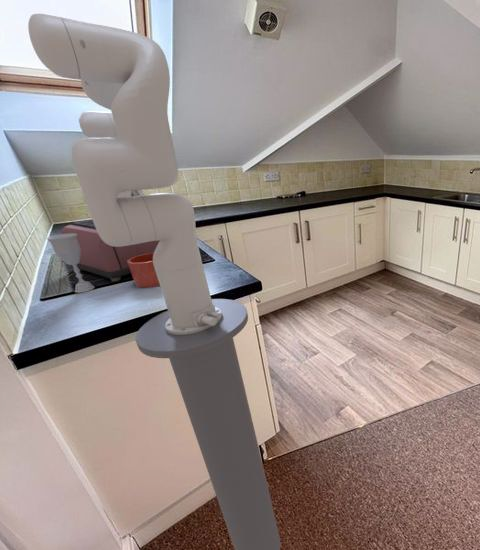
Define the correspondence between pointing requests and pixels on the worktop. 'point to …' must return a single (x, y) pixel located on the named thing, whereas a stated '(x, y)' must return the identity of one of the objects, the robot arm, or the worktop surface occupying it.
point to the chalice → (70, 256)
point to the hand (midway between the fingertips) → (135, 223)
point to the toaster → (104, 251)
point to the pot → (143, 270)
